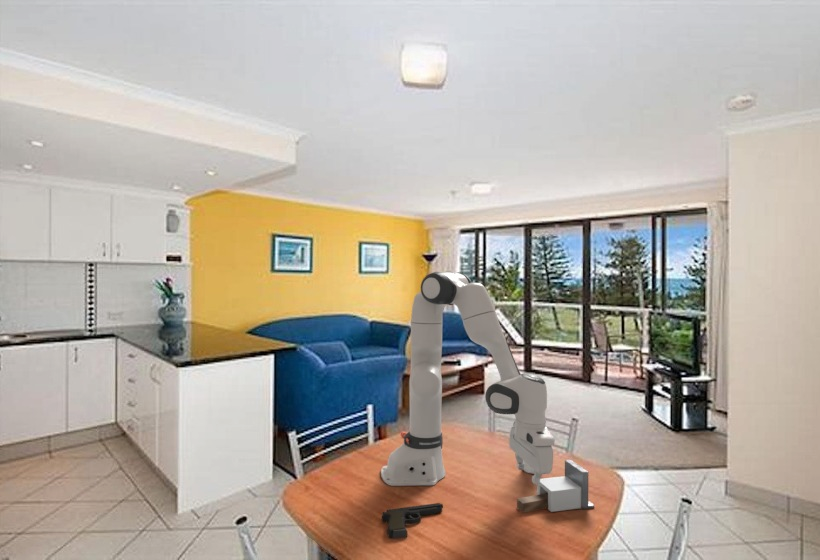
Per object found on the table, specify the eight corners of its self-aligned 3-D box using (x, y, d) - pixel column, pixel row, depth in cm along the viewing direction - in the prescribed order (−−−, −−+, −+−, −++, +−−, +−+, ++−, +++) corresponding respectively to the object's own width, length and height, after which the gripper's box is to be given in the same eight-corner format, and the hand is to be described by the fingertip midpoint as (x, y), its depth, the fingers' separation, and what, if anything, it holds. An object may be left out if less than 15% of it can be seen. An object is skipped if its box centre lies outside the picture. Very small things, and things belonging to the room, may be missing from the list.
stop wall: (582, 509, 128) (582, 472, 128) (564, 494, 137) (564, 460, 137) (594, 507, 129) (594, 471, 129) (575, 493, 138) (575, 458, 138)
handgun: (456, 521, 118) (441, 499, 129) (389, 531, 112) (379, 507, 124) (456, 531, 118) (440, 508, 129) (388, 542, 112) (378, 517, 124)
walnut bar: (522, 513, 126) (522, 503, 126) (516, 508, 129) (517, 498, 129) (562, 506, 131) (562, 496, 131) (556, 501, 134) (556, 491, 134)
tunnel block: (551, 511, 126) (551, 491, 126) (536, 498, 134) (537, 479, 134) (581, 508, 129) (581, 487, 129) (565, 495, 136) (565, 475, 136)
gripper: (505, 418, 139) (503, 461, 139) (537, 442, 119) (534, 493, 119) (523, 418, 140) (521, 460, 140) (558, 441, 120) (555, 491, 120)
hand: (527, 475), depth 129 cm, fingers open, 8 cm apart
